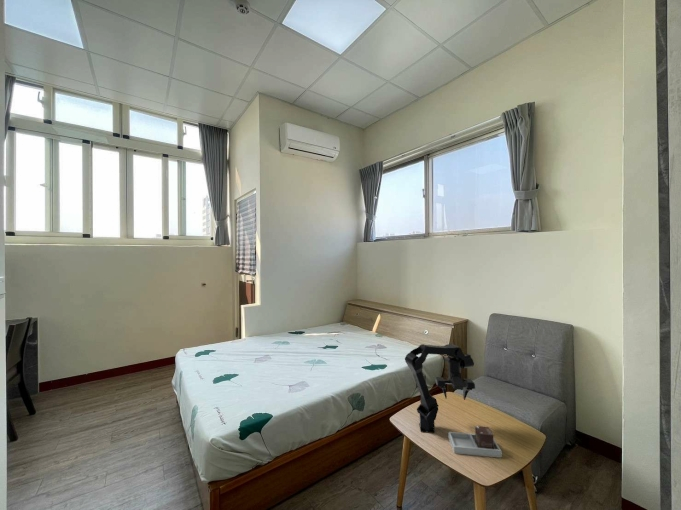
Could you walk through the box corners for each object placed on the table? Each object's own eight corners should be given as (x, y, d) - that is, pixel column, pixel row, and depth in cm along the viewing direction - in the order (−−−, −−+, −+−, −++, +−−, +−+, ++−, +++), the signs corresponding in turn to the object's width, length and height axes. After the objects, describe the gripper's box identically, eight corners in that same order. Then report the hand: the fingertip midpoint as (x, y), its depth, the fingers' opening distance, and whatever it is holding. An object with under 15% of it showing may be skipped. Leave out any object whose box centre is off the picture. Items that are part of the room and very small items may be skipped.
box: (494, 451, 119) (493, 435, 119) (479, 450, 120) (479, 433, 120) (488, 442, 125) (488, 426, 125) (475, 441, 126) (474, 425, 126)
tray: (454, 453, 120) (454, 446, 120) (448, 437, 130) (448, 431, 130) (501, 457, 117) (501, 451, 117) (491, 441, 127) (491, 435, 127)
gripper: (439, 374, 137) (439, 405, 136) (478, 376, 134) (479, 408, 133) (435, 366, 148) (435, 394, 147) (471, 367, 145) (471, 397, 144)
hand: (455, 399), depth 143 cm, fingers open, 9 cm apart
